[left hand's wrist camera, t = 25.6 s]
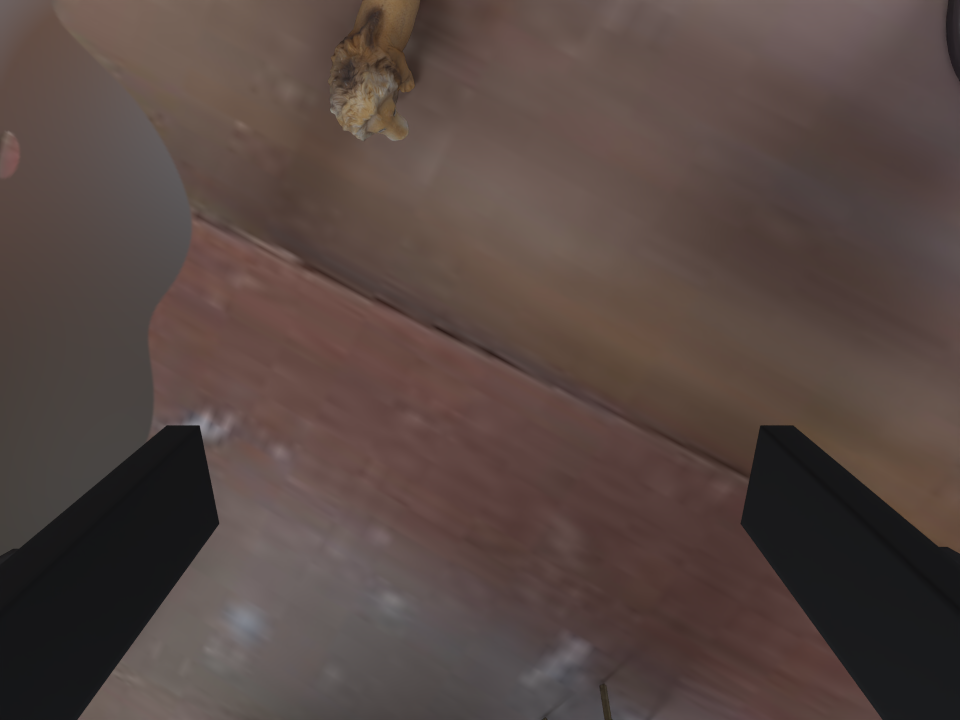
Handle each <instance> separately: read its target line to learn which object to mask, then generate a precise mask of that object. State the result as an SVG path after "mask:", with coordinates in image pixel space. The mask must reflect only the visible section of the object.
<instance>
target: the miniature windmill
mask: <svg viewBox="0 0 960 720" xmlns="http://www.w3.org/2000/svg"><path fill="white" fill-rule="evenodd" d="M600 692H601V699H602V705H603V712H604V719H605V720H612V719H611V712H610V706H609V699H608V693H607V687H606V685H605V684H602V685H600ZM542 720H547V718H544V719H542Z"/></svg>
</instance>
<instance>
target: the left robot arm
mask: <svg viewBox="0 0 960 720" xmlns="http://www.w3.org/2000/svg"><path fill="white" fill-rule="evenodd" d="M946 33H947V45H948V51H949V55H950V59H951V63H952V65H953V68H954V71H955V73H956V75H957V77H958V79H959V81H960V0H949V2H948V9H947V21H946ZM218 525H219V520H218V515H217V510H216V505H215V500H214V495H213V490H212V485H211V480H210V475H209V470H208V465H207V460H206V455H205V450H204V445H203V440H202V435H201V430H200V426H166V427H164V428H163V429H162V430H161V431H160V432H158V433H157V434H156V435H155V436H154V437H152V438H151V439H150V440H149V441H148V442H146V443H145V444H144V445H143V446H142V447H141V448H139V449H138V450H137V451H136V452H135V453H133V454H132V455H131V456H130V457H129V458H127V459H126V460H125V461H124V462H123V463H121V464H120V465H119V466H118V467H117V468H115V469H114V470H113V471H112V472H111V473H109V474H108V475H107V476H106V477H105V478H103V479H102V480H101V481H100V482H99V483H97V484H96V485H95V486H94V487H93V488H92V489H90V490H89V491H88V492H87V493H85V494H84V495H83V496H82V497H81V498H79V499H78V500H77V501H76V502H75V503H73V504H72V505H71V506H70V507H69V508H68V509H66V510H65V511H64V512H63V513H62V514H60V515H59V516H58V517H57V518H56V519H54V520H53V521H52V522H51V523H50V524H48V525H47V526H46V527H45V528H44V529H42V530H41V531H40V532H39V533H38V534H36V535H35V536H34V537H33V538H32V539H30V540H29V541H28V542H27V543H26V544H24V545H23V546H22V547H21V548H20V549H12V550H10V551H9V552H7V553H5V554H3V555H1V556H0V720H77V719H78V718H79V717H80V715H81V714H82V713H83V711H84V710H85V708H86V707H87V706H88V704H89V703H90V702H91V700H92V699H93V697H94V696H95V695H96V693H97V692H98V691H99V689H100V688H101V686H102V685H103V684H104V682H105V681H106V679H107V678H108V677H109V675H110V674H111V673H112V671H113V670H114V668H115V667H116V666H117V664H118V663H119V662H120V660H121V659H122V657H123V656H124V655H125V653H126V652H127V650H128V649H129V648H130V646H131V645H132V644H133V642H134V641H135V639H136V638H137V637H138V635H139V634H140V633H141V631H142V630H143V628H144V627H145V626H146V624H147V623H148V621H149V620H150V619H151V617H152V616H153V615H154V613H155V612H156V610H157V609H158V608H159V606H160V605H161V604H162V602H163V601H164V599H165V598H166V597H167V595H168V594H169V592H170V591H171V590H172V588H173V587H174V586H175V584H176V583H177V581H178V580H179V579H180V577H181V576H182V575H183V573H184V572H185V570H186V569H187V568H188V566H189V565H190V564H191V562H192V561H193V559H194V558H195V557H196V555H197V554H198V552H199V551H200V550H201V548H202V547H203V546H204V544H205V543H206V541H207V540H208V539H209V537H210V536H211V535H212V533H213V532H214V530H215V529H216V528H217V526H218ZM741 525H742V526H743V528H744V529H745V530H746V532H747V533H748V535H749V536H750V537H751V539H752V540H753V541H754V543H755V544H756V546H757V547H758V548H759V550H760V551H761V552H762V554H763V555H764V557H765V558H766V559H767V561H768V562H769V564H770V565H771V566H772V568H773V569H774V570H775V572H776V573H777V575H778V576H779V577H780V579H781V580H782V581H783V583H784V584H785V586H786V587H787V588H788V590H789V591H790V592H791V594H792V595H793V597H794V598H795V599H796V601H797V602H798V604H799V605H800V606H801V608H802V609H803V610H804V612H805V613H806V615H807V616H808V617H809V619H810V620H811V621H812V623H813V624H814V626H815V627H816V628H817V630H818V631H819V633H820V634H821V635H822V637H823V638H824V639H825V641H826V642H827V644H828V645H829V646H830V648H831V649H832V650H833V652H834V653H835V655H836V656H837V657H838V659H839V660H840V662H841V663H842V664H843V666H844V667H845V668H846V670H847V671H848V673H849V674H850V675H851V677H852V678H853V679H854V681H855V682H856V684H857V685H858V686H859V688H860V689H861V691H862V692H863V693H864V695H865V696H866V697H867V699H868V700H869V702H870V703H871V704H872V706H873V707H874V708H875V710H876V711H877V713H878V714H879V715H880V717H881V718H882V720H960V554H959V553H957V552H956V551H954V550H952V549H950V548H948V547H938V546H937V545H936V544H934V543H933V542H932V541H931V540H930V539H928V538H927V537H926V536H925V535H924V534H922V533H921V532H920V531H919V530H918V529H916V528H915V527H914V526H913V525H912V524H910V523H909V522H908V521H907V520H906V519H904V518H903V517H902V516H901V515H900V514H898V513H897V512H896V511H895V510H894V509H892V508H891V507H890V506H889V505H888V504H887V503H885V502H884V501H883V500H882V499H881V498H879V497H878V496H877V495H876V494H875V493H873V492H872V491H871V490H870V489H869V488H867V487H866V486H865V485H864V484H863V483H861V482H860V481H859V480H858V479H857V478H855V477H854V476H853V475H852V474H851V473H849V472H848V471H847V470H846V469H845V468H843V467H842V466H841V465H840V464H839V463H837V462H836V461H835V460H834V459H833V458H831V457H830V456H829V455H828V454H827V453H825V452H824V451H823V450H822V449H821V448H819V447H818V446H817V445H816V444H815V443H814V442H812V441H811V440H810V439H809V438H808V437H806V436H805V435H804V434H803V433H802V432H800V431H799V430H798V429H797V428H796V427H794V426H760V430H759V435H758V440H757V445H756V450H755V455H754V460H753V465H752V470H751V475H750V480H749V485H748V490H747V495H746V500H745V505H744V510H743V515H742V520H741Z"/></svg>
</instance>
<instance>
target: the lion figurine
mask: <svg viewBox="0 0 960 720" xmlns="http://www.w3.org/2000/svg"><path fill="white" fill-rule="evenodd" d="M419 4H420V0H363V1H362V4H361V7H360V10H359V12H358V15H357V18H356V22H355V25H354V29H353V30H352V31H351V33H350V34H349V35H348V37H345V39H344V40H343V41H341V42H340V44H339V45H338V46H337V47H336V49H335V53H334V55H333V56H332V57H331V60H332V69H331V70H330V73H331V76H330V78H329V79H328V83H329V85H330V94H331V97H330V103H331V108H330V111H331V112H332V113H333V114H335V115H336V118H337V120H338V122H339V124H340V125H341V126H342V128H343V130H344V131H350V132H351V133H352V134H353V135H355V136H356V137H357V138H358V139H361V140H362V141H365V139H366V138H369V137H370V136H371V135H372V134H375V133H381V134H384V135H386V136H387V137H388V138H389V139H391V140H393V141H397V140H403V139H404V138H405V137H406V136H407V135H408V133H409V128H408V123H407V121H406V120H405V119H404V118H403V117H402V116H401V115H399V114H398V112H397V111H396V106H395V105H396V102H397V98H398V91H399V89H400V90H401V91H402V92H410V91H411V90H412V89H413V88H414V87H415V84H414V79H413V76H412V73H411V71H410V70H409V69H408V66H407V64H406V60H405V56H404V53H403V52H402V51H403V49H404V48H405V46H406V44H407V42H408V40H409V38H410V35H411V32H412V30H413V26H414V23H415V19H416V16H417V13H418V9H419Z"/></svg>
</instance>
